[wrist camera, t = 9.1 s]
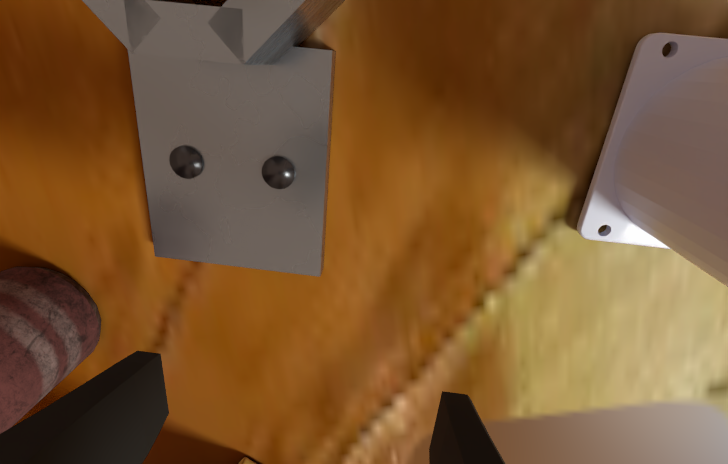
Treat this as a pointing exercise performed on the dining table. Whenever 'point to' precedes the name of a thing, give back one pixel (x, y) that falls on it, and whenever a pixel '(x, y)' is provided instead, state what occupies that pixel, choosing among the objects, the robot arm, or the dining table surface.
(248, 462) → the candy box
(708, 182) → the robot arm
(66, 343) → the can
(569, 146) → the dining table surface
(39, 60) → the dining table surface
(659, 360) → the dining table surface
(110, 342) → the dining table surface
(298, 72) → the bracket
